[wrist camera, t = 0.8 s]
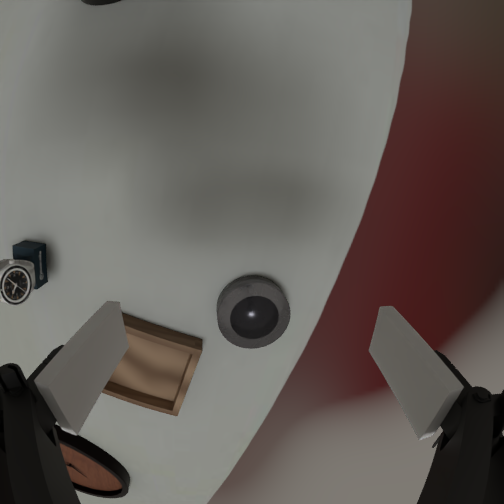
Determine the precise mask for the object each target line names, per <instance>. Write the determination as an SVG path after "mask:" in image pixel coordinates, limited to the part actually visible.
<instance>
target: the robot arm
mask: <svg viewBox="0 0 504 504" xmlns="http://www.w3.org/2000/svg"><path fill="white" fill-rule="evenodd" d="M81 1H82V2H84V3H86V4H90V5H102V4H109V3H113V2H117V1H120V0H81ZM128 348H129V344H128V340H127V336H126V331H125V327H124V322H123V317H122V312H121V307H120V302H113V301H107V302H106V303H105V304H104V305H103V306H102V307H101V308H100V309H99V310H98V311H97V312H96V313H95V314H94V315H93V316H92V317H91V318H90V319H89V320H88V321H87V322H86V323H85V324H84V325H83V326H82V327H81V328H80V329H79V330H78V331H77V332H76V334H75V335H74V336H73V337H72V338H71V339H70V340H69V341H68V342H67V343H66V344H65V345H61V346H59V347H57V348H56V349H54V350H53V351H52V352H51V353H50V354H49V355H48V356H47V358H45V360H44V361H43V362H42V363H41V364H40V365H39V366H38V367H37V368H36V370H35V371H34V372H33V373H32V374H31V375H30V376H29V378H28V379H27V380H26V378H25V376H24V374H23V372H22V370H21V368H20V367H19V366H18V365H17V364H14V363H8V364H5V365H3V366H1V367H0V504H81V503H80V501H79V499H78V496H77V494H76V491H75V489H74V486H73V484H72V481H71V478H70V475H69V473H68V470H67V467H66V464H65V461H64V457H63V454H62V451H61V447H60V443H59V440H58V436H57V432H56V430H55V428H54V425H55V423H56V421H57V422H58V424H59V425H60V427H61V428H62V430H64V431H66V432H69V433H71V434H74V435H76V436H77V435H78V433H79V431H80V430H81V428H82V426H83V424H84V422H85V420H86V419H87V417H88V415H89V413H90V411H91V410H92V408H93V406H94V404H95V403H96V401H97V399H98V397H99V396H100V394H101V392H102V391H103V389H104V387H105V385H106V384H107V382H108V380H109V379H110V377H111V375H112V374H113V372H114V370H115V369H116V367H117V365H118V364H119V362H120V361H121V359H122V357H123V356H124V354H125V352H126V351H127V349H128ZM369 352H370V354H371V355H372V357H373V359H374V360H375V362H376V364H377V365H378V367H379V369H380V370H381V372H382V373H383V376H384V377H385V379H386V381H387V382H388V384H389V386H390V388H391V389H392V391H393V393H394V395H395V397H396V398H397V400H398V402H399V404H400V405H401V407H402V409H403V411H404V413H405V414H406V416H407V418H408V420H409V422H410V424H411V426H412V427H413V429H414V431H415V433H416V435H417V437H418V439H419V440H421V439H424V438H427V437H429V436H432V435H434V434H435V432H436V430H437V429H438V428H439V426H441V428H442V429H443V432H442V433H441V435H440V436H439V437H438V439H437V440H436V442H435V443H434V444H433V446H432V448H434V447H435V446H436V444H437V443H438V445H437V449H436V452H435V456H434V459H433V462H432V465H431V468H430V471H429V474H428V477H427V479H426V482H425V485H424V488H423V490H422V492H421V495H420V497H419V500H418V502H417V504H504V436H503V435H502V431H503V430H504V390H503V391H502V393H501V394H493V395H492V394H491V393H490V392H489V391H488V390H487V389H485V388H483V387H472V386H471V385H470V384H469V383H468V382H467V381H466V379H465V378H464V377H463V376H462V375H461V373H460V372H459V371H458V370H457V369H455V366H454V365H453V364H451V362H450V361H449V360H448V359H447V357H446V356H445V355H443V354H442V353H440V352H438V351H437V350H436V351H433V350H432V349H431V347H430V346H429V345H428V344H427V343H426V342H425V341H424V340H423V339H422V337H421V336H420V335H419V334H418V333H417V332H416V331H415V330H414V329H413V327H412V326H411V325H410V324H409V323H408V322H407V321H406V320H405V319H404V318H403V317H402V316H401V315H400V314H399V313H398V311H397V310H396V309H395V308H394V307H393V306H385V307H380V309H379V313H378V318H377V321H376V326H375V329H374V333H373V337H372V341H371V345H370V348H369Z"/></svg>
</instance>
